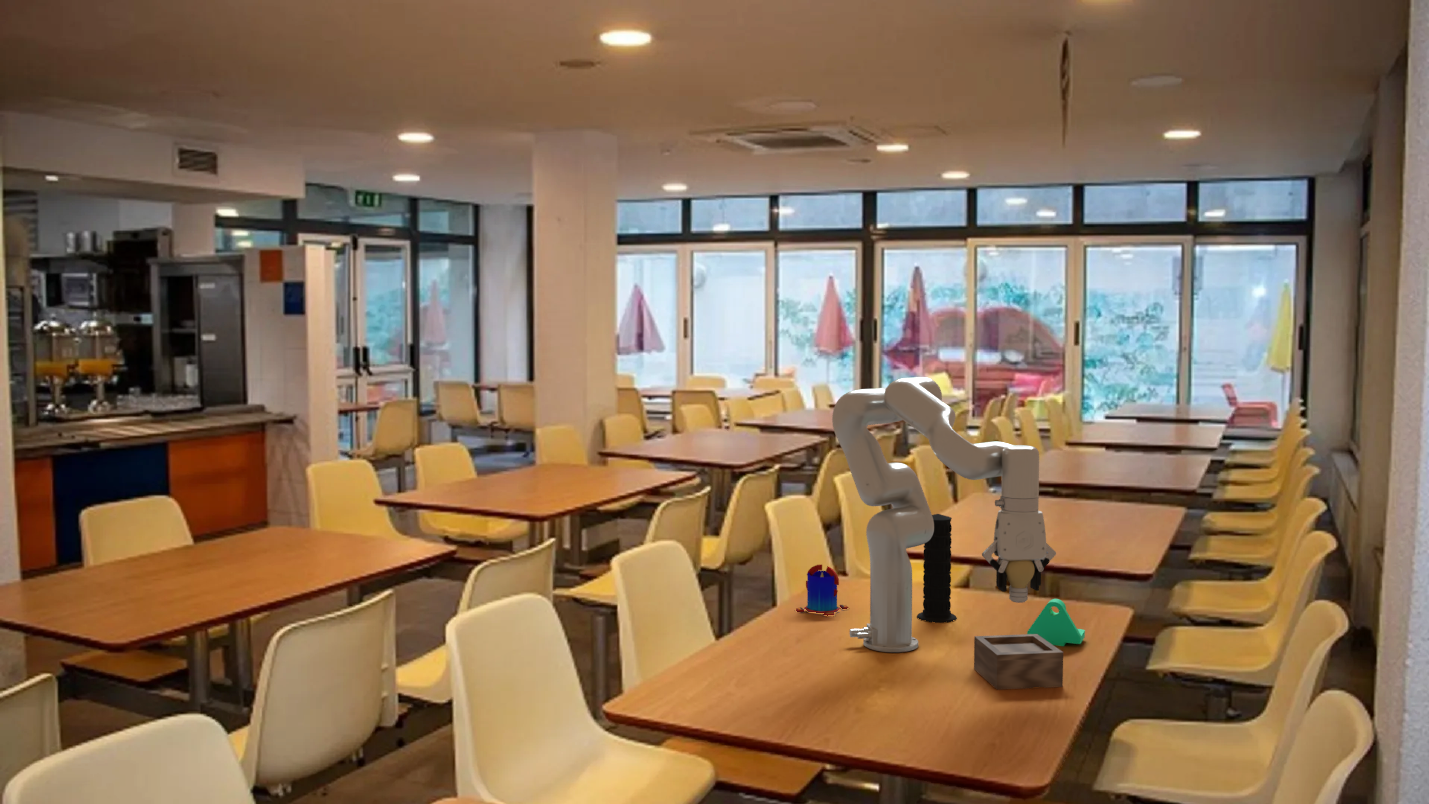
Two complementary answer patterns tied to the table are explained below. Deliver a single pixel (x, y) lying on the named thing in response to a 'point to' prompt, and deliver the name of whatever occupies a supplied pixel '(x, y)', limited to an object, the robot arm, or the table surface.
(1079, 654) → the table surface
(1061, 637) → the camera mount
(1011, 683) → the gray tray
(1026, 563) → the light bulb
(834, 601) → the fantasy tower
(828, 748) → the table surface
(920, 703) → the table surface
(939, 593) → the handle grip
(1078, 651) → the table surface
